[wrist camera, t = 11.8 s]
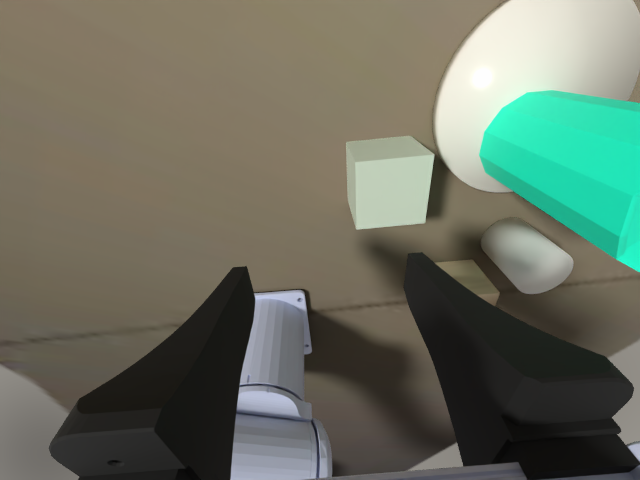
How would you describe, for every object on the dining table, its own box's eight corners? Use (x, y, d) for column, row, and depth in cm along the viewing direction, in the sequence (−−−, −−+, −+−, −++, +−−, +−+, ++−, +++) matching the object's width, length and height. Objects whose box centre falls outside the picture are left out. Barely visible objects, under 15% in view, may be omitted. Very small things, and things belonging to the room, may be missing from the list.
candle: (547, 65, 17) (910, 85, 7) (587, 133, 19) (900, 223, 9) (461, 145, 19) (635, 246, 9) (506, 197, 21) (684, 323, 11)
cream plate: (573, 180, 22) (586, 186, 21) (421, 192, 22) (426, 198, 21) (667, -28, 16) (692, -33, 15) (450, -11, 16) (460, -16, 15)
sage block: (404, 194, 22) (425, 223, 19) (347, 200, 22) (356, 229, 19) (410, 135, 20) (434, 154, 16) (345, 141, 20) (355, 162, 16)
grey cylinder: (519, 253, 26) (560, 291, 22) (475, 257, 26) (508, 296, 22) (534, 215, 24) (583, 249, 20) (487, 219, 24) (526, 254, 20)
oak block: (462, 294, 29) (485, 330, 25) (417, 298, 29) (435, 334, 25) (472, 258, 26) (500, 293, 23) (423, 263, 26) (443, 298, 23)
